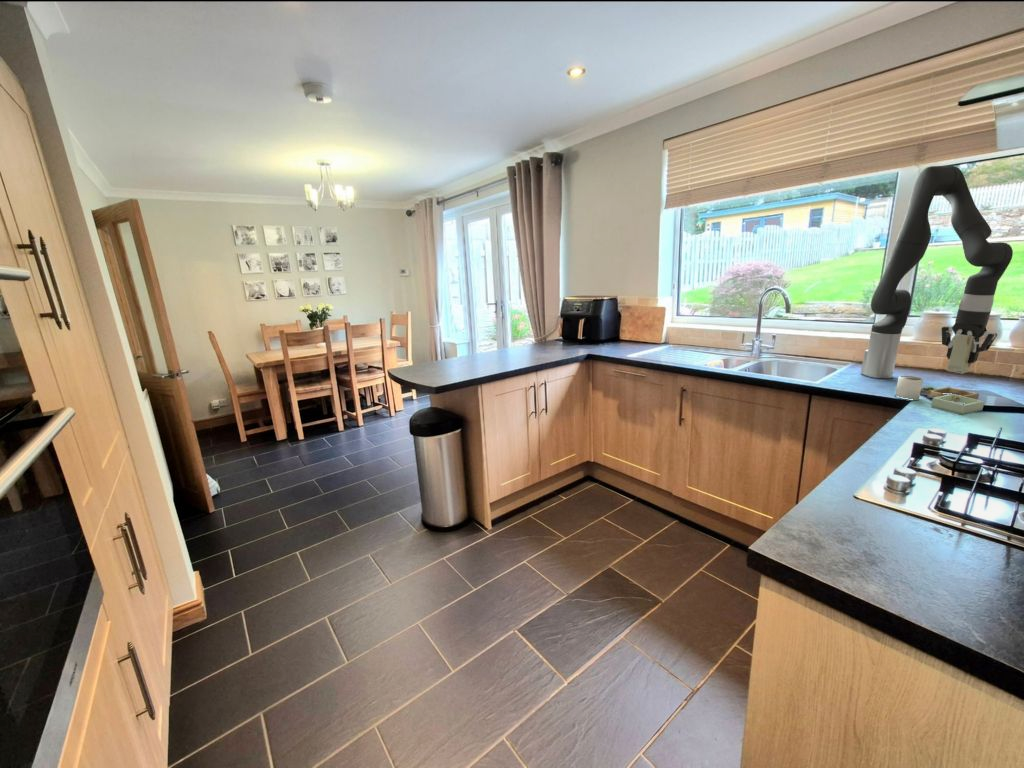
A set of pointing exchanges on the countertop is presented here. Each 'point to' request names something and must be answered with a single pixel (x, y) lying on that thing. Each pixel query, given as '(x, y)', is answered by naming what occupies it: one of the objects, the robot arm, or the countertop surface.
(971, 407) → the trough
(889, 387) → the countertop surface
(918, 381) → the cup
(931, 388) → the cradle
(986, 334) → the robot arm
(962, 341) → the skincare box
